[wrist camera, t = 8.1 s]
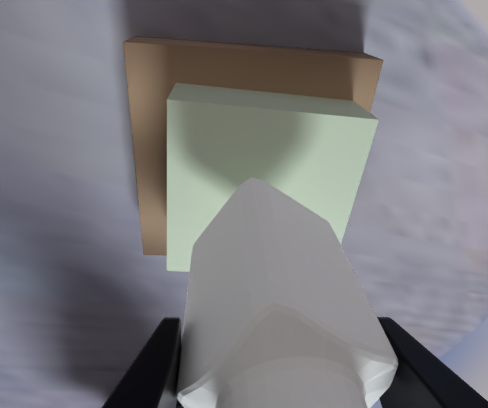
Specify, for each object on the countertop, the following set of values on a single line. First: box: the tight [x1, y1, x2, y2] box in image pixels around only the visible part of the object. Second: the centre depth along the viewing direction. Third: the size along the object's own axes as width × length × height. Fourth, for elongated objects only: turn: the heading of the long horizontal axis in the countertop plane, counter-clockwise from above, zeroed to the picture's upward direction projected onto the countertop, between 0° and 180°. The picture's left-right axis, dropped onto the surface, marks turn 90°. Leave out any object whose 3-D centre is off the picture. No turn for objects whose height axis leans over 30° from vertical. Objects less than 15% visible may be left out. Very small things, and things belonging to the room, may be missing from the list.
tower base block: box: [123, 36, 383, 255], centre depth 19 cm, size 11×11×3 cm
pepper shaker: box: [176, 177, 398, 408], centre depth 9 cm, size 4×4×10 cm
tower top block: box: [167, 83, 379, 272], centre depth 16 cm, size 8×8×3 cm
